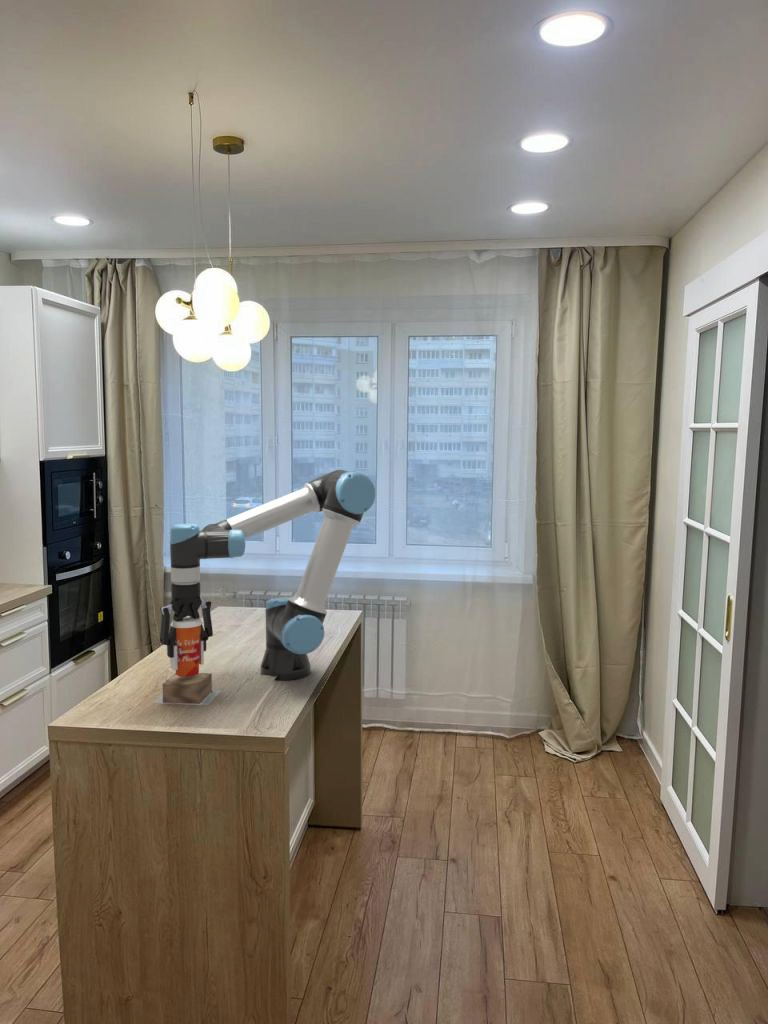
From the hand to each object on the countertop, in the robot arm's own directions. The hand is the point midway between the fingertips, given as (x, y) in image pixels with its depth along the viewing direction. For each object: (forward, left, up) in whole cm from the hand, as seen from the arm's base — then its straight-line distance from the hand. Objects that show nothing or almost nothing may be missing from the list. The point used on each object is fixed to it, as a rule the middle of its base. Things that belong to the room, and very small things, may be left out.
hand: (187, 665), depth 196 cm
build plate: (0, 0, -10) cm, 10 cm away
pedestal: (0, 0, -9) cm, 9 cm away
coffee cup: (0, 0, -2) cm, 2 cm away
